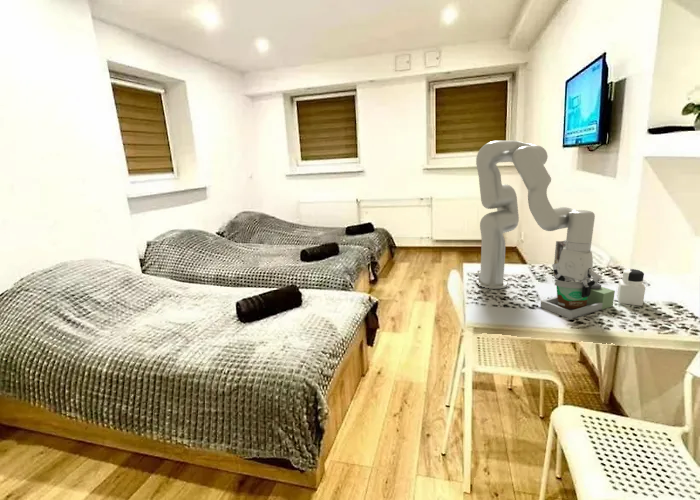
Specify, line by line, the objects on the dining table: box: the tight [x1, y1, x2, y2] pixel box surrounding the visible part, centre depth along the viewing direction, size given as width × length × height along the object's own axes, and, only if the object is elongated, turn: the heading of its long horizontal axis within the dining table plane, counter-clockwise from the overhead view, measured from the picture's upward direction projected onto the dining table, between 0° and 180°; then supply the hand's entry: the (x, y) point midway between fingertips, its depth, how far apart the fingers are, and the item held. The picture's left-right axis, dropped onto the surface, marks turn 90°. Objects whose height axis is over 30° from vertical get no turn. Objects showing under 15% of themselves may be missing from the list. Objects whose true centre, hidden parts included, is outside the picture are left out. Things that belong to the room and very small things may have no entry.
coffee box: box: [552, 240, 575, 281], centre depth 164 cm, size 9×6×16 cm
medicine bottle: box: [616, 268, 646, 307], centre depth 137 cm, size 7×7×12 cm
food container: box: [554, 279, 588, 309], centre depth 133 cm, size 12×6×10 cm, turn 91°
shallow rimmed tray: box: [540, 282, 616, 320], centre depth 136 cm, size 12×22×7 cm, turn 114°
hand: (572, 292), depth 134 cm, fingers open, 9 cm apart
